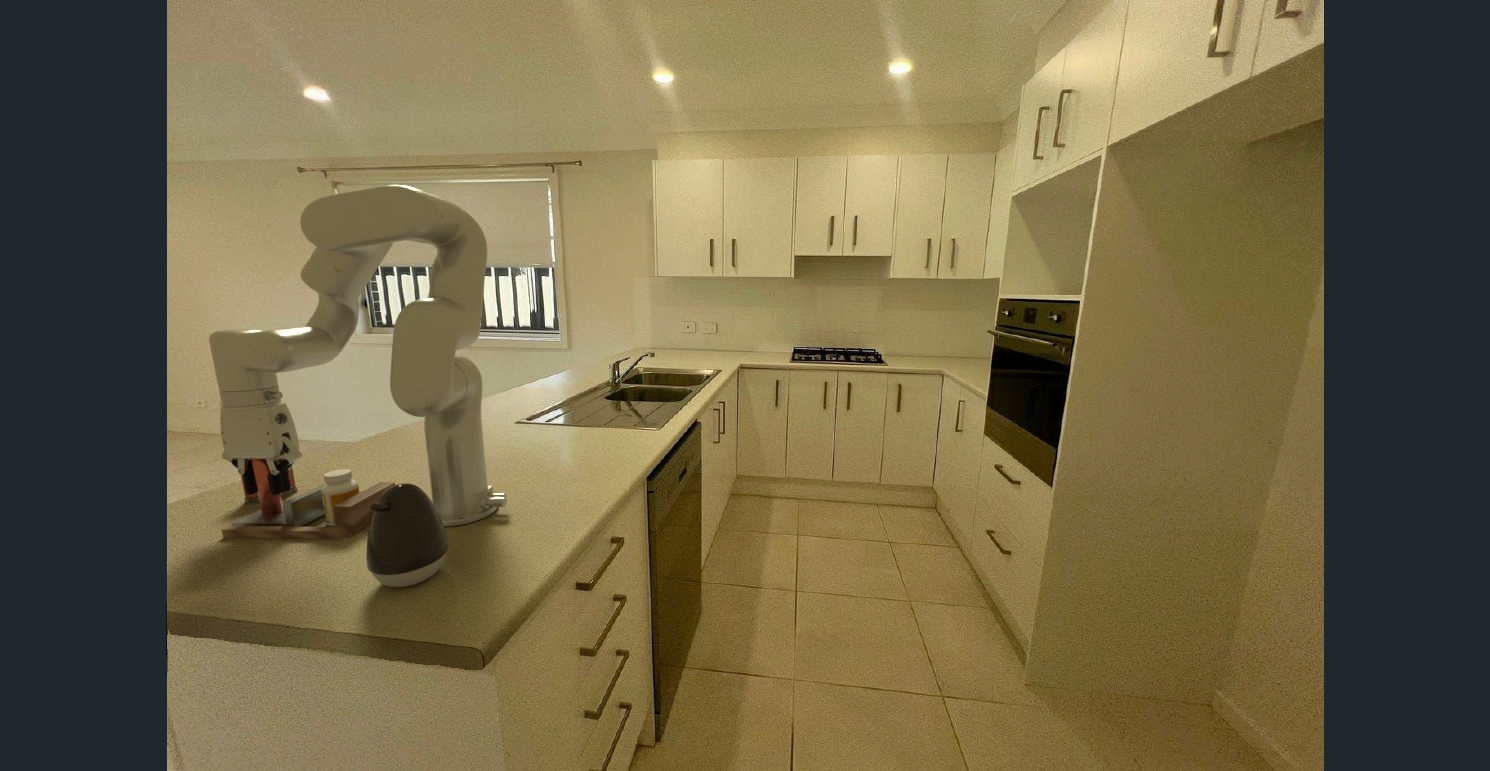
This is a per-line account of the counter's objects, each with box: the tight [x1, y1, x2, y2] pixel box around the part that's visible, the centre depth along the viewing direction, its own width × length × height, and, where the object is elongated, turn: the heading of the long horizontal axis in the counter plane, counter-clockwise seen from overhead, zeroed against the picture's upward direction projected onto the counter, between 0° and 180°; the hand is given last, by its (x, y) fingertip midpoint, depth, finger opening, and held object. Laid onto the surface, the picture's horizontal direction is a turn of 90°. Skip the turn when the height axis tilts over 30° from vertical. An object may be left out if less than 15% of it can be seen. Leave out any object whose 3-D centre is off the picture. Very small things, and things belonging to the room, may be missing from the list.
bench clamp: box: [221, 481, 396, 540], centre depth 90 cm, size 22×14×6 cm, turn 90°
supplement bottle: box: [321, 468, 360, 527], centre depth 90 cm, size 5×5×10 cm
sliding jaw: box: [230, 459, 327, 527], centre depth 89 cm, size 12×9×13 cm
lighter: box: [240, 459, 299, 504], centre depth 100 cm, size 8×3×10 cm, turn 144°
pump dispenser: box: [365, 482, 449, 588], centre depth 72 cm, size 10×10×15 cm
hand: (268, 490), depth 90 cm, fingers open, 4 cm apart
